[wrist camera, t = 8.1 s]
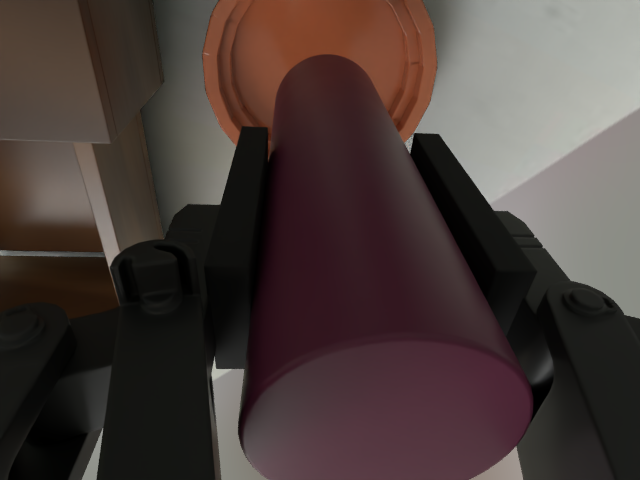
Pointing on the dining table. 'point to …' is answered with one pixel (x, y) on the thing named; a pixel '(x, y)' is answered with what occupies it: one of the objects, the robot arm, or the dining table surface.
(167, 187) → the dining table surface
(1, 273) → the drawer
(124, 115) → the cabinet
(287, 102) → the dark purple cylinder
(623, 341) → the robot arm
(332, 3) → the saucer
